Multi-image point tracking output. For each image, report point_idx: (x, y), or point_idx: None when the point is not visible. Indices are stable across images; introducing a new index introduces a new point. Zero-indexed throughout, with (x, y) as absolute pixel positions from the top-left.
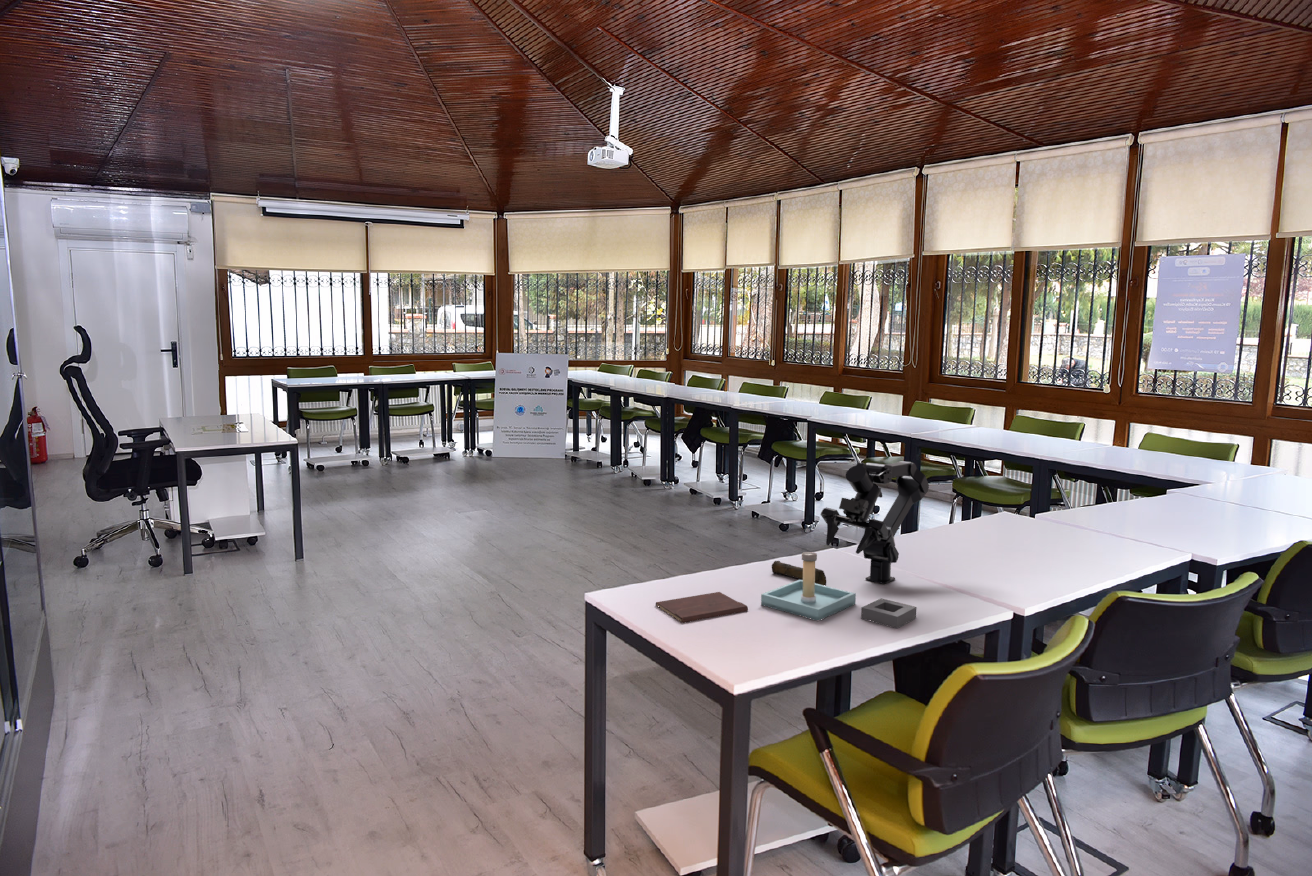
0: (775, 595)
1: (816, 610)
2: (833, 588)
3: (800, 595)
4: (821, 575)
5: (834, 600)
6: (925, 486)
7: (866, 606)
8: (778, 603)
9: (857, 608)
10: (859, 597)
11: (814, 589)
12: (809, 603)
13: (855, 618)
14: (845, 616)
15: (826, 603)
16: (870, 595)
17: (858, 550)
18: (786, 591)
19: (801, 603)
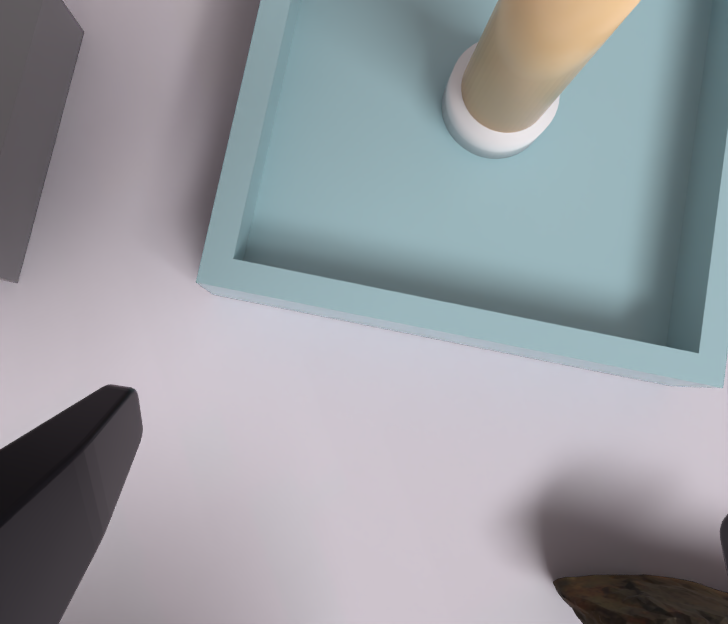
0: (715, 49)
1: None
2: (397, 307)
3: (588, 189)
4: (626, 606)
5: (281, 31)
6: None
7: (19, 16)
8: None
9: (171, 216)
10: (237, 458)
11: (475, 65)
12: None
13: (120, 22)
14: (190, 26)
15: (365, 119)
16: (179, 553)
17: (75, 410)
18: (697, 177)
19: None
